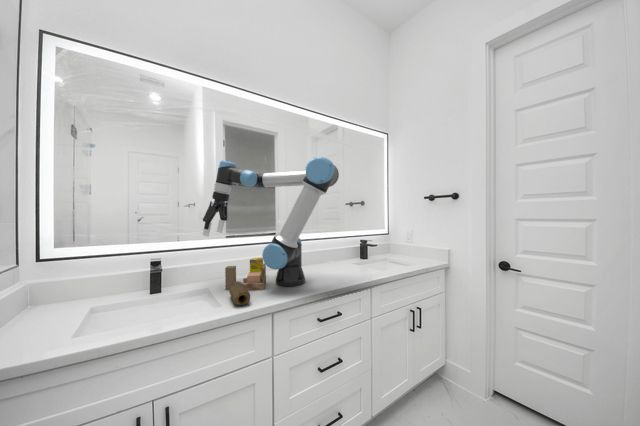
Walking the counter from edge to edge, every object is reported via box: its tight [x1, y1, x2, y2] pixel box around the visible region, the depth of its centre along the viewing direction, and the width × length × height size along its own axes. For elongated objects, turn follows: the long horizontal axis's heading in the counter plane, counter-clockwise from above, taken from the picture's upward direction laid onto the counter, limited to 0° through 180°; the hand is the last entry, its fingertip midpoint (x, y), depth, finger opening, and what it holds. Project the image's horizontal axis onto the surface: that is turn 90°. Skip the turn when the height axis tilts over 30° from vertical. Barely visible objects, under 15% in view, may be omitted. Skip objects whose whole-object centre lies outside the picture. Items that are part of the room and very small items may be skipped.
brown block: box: [224, 265, 262, 290], centre depth 115 cm, size 16×7×10 cm, turn 100°
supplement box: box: [249, 257, 264, 277], centre depth 131 cm, size 6×6×11 cm
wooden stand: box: [242, 262, 267, 292], centre depth 115 cm, size 11×12×10 cm
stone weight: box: [228, 281, 251, 306], centre depth 97 cm, size 15×7×7 cm, turn 33°
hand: (212, 234), depth 119 cm, fingers open, 13 cm apart
